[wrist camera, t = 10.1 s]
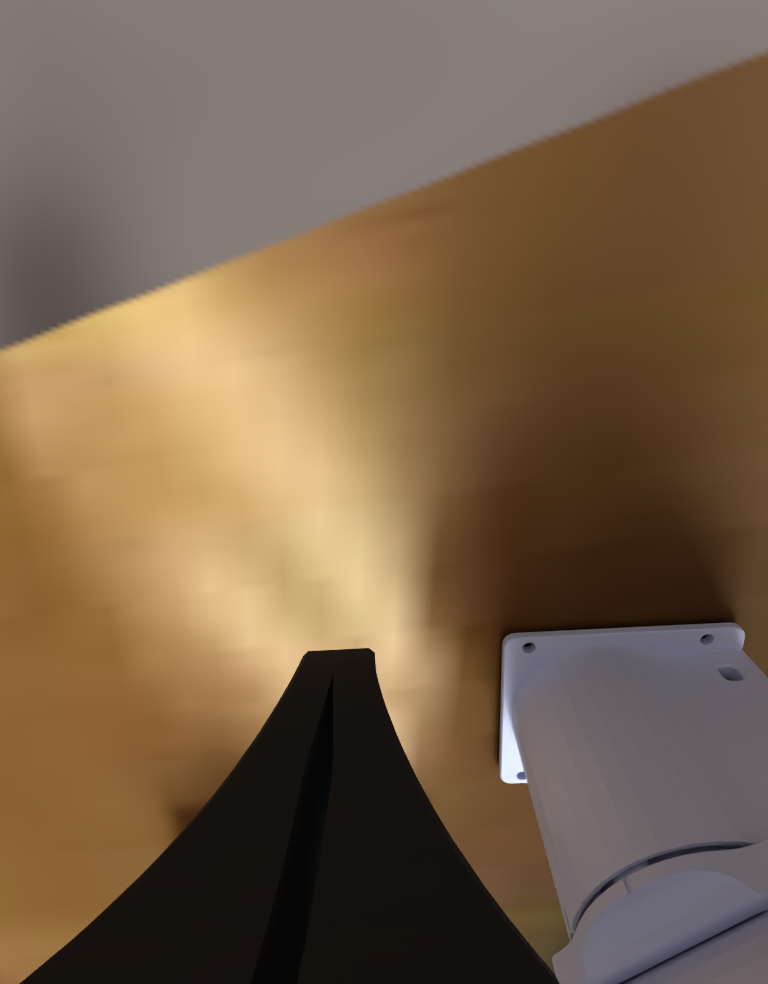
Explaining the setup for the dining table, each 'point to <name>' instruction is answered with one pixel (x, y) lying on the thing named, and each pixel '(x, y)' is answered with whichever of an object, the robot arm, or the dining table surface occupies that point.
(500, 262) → the dining table surface
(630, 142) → the dining table surface
